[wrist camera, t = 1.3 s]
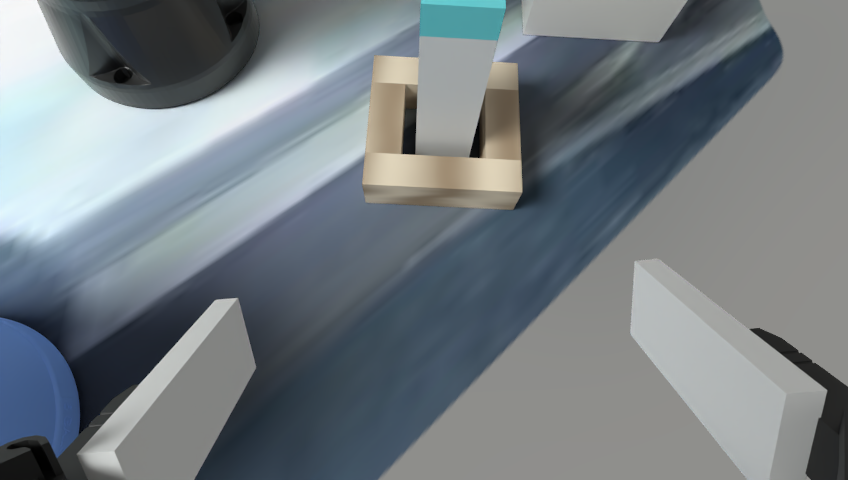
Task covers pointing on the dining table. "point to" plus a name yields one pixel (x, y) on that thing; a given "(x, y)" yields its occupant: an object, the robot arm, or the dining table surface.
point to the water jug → (35, 389)
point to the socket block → (600, 18)
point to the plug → (454, 72)
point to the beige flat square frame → (440, 175)
